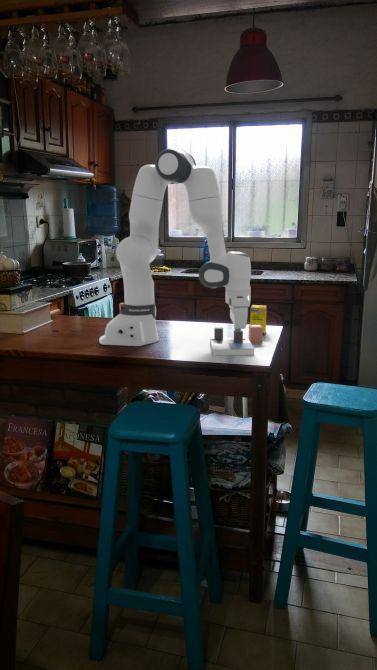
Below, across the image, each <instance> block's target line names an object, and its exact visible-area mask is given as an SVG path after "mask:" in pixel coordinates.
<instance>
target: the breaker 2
mask: <svg viewBox="0 0 377 670" xmlns="http://www.w3.org/2000/svg"><path fill="white" fill-rule="evenodd" d="M233 338H234V343H243V338H244V331H243V330H241V331H235V330H233Z"/></svg>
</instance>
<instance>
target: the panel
mask: <svg viewBox="0 0 377 670" xmlns="http://www.w3.org/2000/svg"><path fill="white" fill-rule="evenodd" d="M209 345H210V348H211V349H210V350H211V353H212V356H254V355H255V347H254V345H253V343H251V342H250V341H249V337H243V343H234V337H223V340H215V339H214V337H209Z"/></svg>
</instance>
